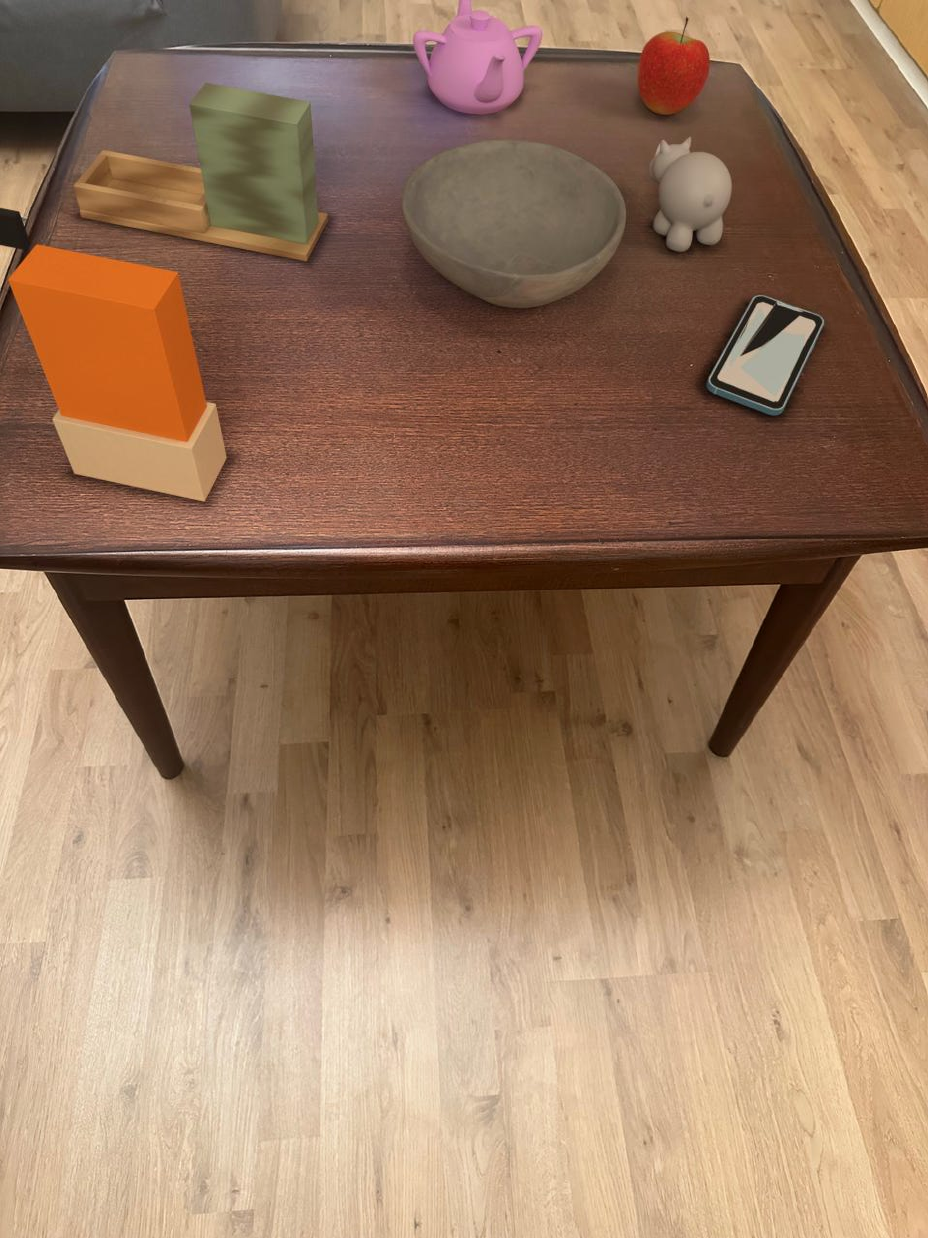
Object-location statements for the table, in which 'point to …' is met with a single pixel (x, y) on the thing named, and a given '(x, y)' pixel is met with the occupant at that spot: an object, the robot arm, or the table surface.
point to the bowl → (514, 220)
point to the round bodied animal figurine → (689, 194)
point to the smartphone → (765, 355)
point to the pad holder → (221, 178)
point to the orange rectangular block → (112, 341)
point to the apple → (672, 71)
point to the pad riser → (146, 455)
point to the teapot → (476, 61)
